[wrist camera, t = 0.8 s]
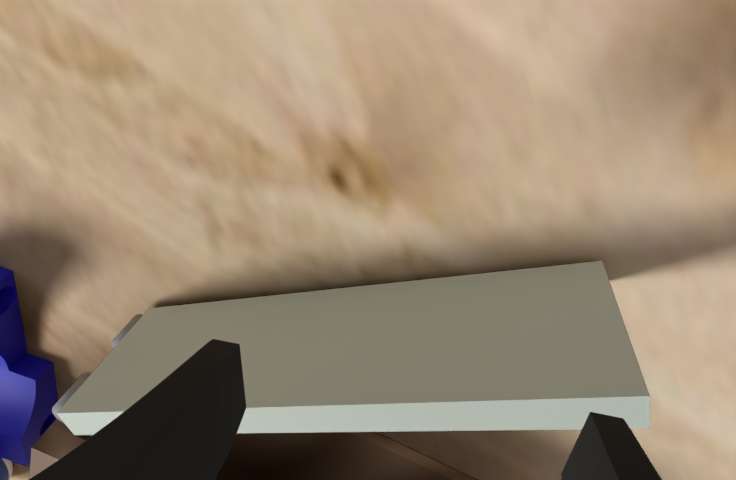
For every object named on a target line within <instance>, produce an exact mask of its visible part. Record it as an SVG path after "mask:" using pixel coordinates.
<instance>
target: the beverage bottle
mask: <svg viewBox="0 0 736 480" xmlns="http://www.w3.org/2000/svg"><path fill="white" fill-rule="evenodd" d="M12 471H13V464H12V461H10V460H7V459H4V458H2V459H1V460H0V480H9V479H10V477H11V475H12Z"/></svg>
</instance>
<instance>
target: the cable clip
mask: <svg viewBox="0 0 736 480" xmlns="http://www.w3.org/2000/svg"><path fill="white" fill-rule="evenodd" d="M57 402H58V396H57V388H56V381H55V374H54V366H53V362H51V361H48V360H45V359H42V358H39V357H37V356H34V355H31V354H28V353H27V348H26V342H25V336H24V331H23V325H22V319H21V314H20V308H19V302H18V297H17V291H16V285H15V280H14V274H13V271H11V270H8V269H5V268H3V267H0V460H1V459H2V458H4V459H7V460H10V461H13V462H16V463H18V464H21V465H24V466H28V465H29V464H30V461H31V447H32V446H33V445H34V444H35V443H36V442H37V441H38V439H39V438H40V437H41V436H42V435H43V434H44V433H45V431H46V430H47V429H48V428H49V427H50V426H51V424H52V423H53V422H54V421H55V420H56V419H57V418H56V417H55V416H54V414H53V412H52V407H53V406H54V405H55V404H56V403H57Z"/></svg>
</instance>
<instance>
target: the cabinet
mask: <svg viewBox="0 0 736 480" xmlns="http://www.w3.org/2000/svg"><path fill="white" fill-rule="evenodd" d="M91 436H92V435H74V434H73V433H72V432H71V431H70V429H69V428H68V427H67V426H66V425H65V424H64V423H62V422H61V421H59V420H58V419H56V420H55V421H54V422H53V423H52V424H51V426H50V427H49V428H48V429H47V430H46V431H45V433H44V434H43V435H42V436H41V437H40V438H39V439H38V441H37V442H36V443H35V444H34V445H33V446H32V447H31V461H30V476H29V479H30V478H32V477H34V476H35V475H37V474H38V473H40V472H41V471H43V470H44V469H46V468H47V467H49V466H50V465H52V464H53V463H55V462H56V461H58V460H59V459H60V458H62V457H63V456H65V455H66V454H68V453H69V452H70V451H72V450H73V449H75V448H76V447H78V446H79V445H80V444H82V443H83V442H84V441H86V440H87V439H88V438H90V437H91ZM215 480H476V479H474V478H471V477H469V476H467V475H465V474H463V473H461V472H459V471H457V470H454V469H452V468H450V467H448V466H446V465H444V464H442V463H439V462H437V461H435V460H433V459H431V458H429V457H427V456H425V455H422V454H420V453H418V452H416V451H414V450H412V449H410V448H408V447H405V446H403V445H401V444H399V443H397V442H395V441H393V440H390V439H388V438H386V437H384V436H382V435H380V434H378V433H376V432H313V433H237V434H236V436H235V439H234V441H233V444H232V446H231V449H230V451H229V454H228V456H227V458H226V460H225V462H224V464H223V466H222V467H221V469H220V471H219V473H218V475H217V477H216V479H215Z"/></svg>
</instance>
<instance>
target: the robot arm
mask: <svg viewBox="0 0 736 480" xmlns="http://www.w3.org/2000/svg"><path fill="white" fill-rule="evenodd" d="M245 410H246V399H245V390H244V381H243V371H242V362H241V353H240V344H237V343H232V342H227V341H221V340H216V339H212V340H210V341H209V342H208V343H206V344H205V345H204V346H203V347H202V348H200V349H199V350H198V351H197V352H196V353H195V354H193V355H192V356H191V357H190V358H189V359H188V360H186V361H185V362H184V363H183V364H182V365H181V366H179V367H178V368H177V369H176V370H175V371H173V372H172V373H171V374H170V375H169V376H167V377H166V378H165V379H164V380H163V381H161V382H160V383H159V384H158V385H157V386H155V387H154V388H153V389H152V390H150V391H149V392H148V393H147V394H145V395H144V396H143V397H142V398H141V399H139V400H138V401H137V402H136V403H134V404H133V405H132V406H131V407H129V408H128V409H127V410H126V411H124V412H123V413H122V414H120V415H119V416H118V417H117V418H115V419H114V420H113V421H111V422H110V423H109V424H107V425H106V426H105V427H103V428H102V429H100V430H99V431H98V432H96V433H95V434H94V435H92V436H91V437H90V438H88V439H87V440H86V441H84V442H83V443H82V444H80V445H79V446H78V447H76V448H75V449H73V450H72V451H70V452H69V453H68V454H66V455H65V456H63V457H62V458H60V459H59V460H58V461H56V462H55V463H53V464H52V465H50V466H49V467H47V468H46V469H44V470H43V471H41V472H40V473H38V474H37V475H35V476H34V477H32V478H30V479H29V480H215V479H216V477H217V475H218V473H219V471H220V469H221V467H222V466H223V464H224V462H225V460H226V458H227V456H228V454H229V451H230V449H231V446H232V444H233V441H234V439H235V436H236V434H237V431H238V429H239V426H240V423H241V421H242V418H243V415H244V413H245ZM561 475H562V480H662V479H661V478H660V476H659V475H658V473H657V471H656V470H655V468H654V467H653V465H652V463H651V462H650V460H649V459H648V457H647V455H646V454H645V452H644V450H643V449H642V447H641V446H640V444H639V442H638V441H637V439H636V437H635V436H634V434H633V433H632V431H631V429H630V428H629V426H628V424H627V423H626V422H625V420H624V419H623V418H619V417H614V416H609V415H604V414H599V413H594V412H590V413H589V415H588V418H587V420H586V422H585V424H584V426H583V428H582V431H581V433H580V435H579V437H578V439H577V441H576V443H575V446H574V448H573V450H572V452H571V454H570V456H569V459H568V461H567V463H566V465H565V467H564V469H563V472H562V474H561Z"/></svg>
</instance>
